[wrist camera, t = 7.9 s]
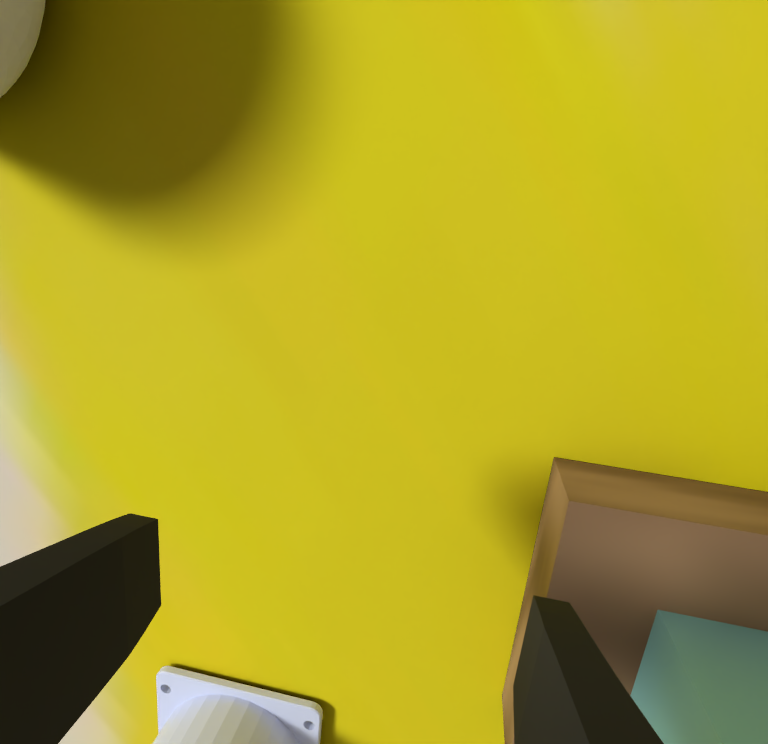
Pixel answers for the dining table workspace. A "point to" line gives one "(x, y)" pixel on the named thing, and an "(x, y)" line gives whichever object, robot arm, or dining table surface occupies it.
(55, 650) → the robot arm
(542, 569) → the walnut base
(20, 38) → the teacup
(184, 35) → the dining table surface
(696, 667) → the teal cube
